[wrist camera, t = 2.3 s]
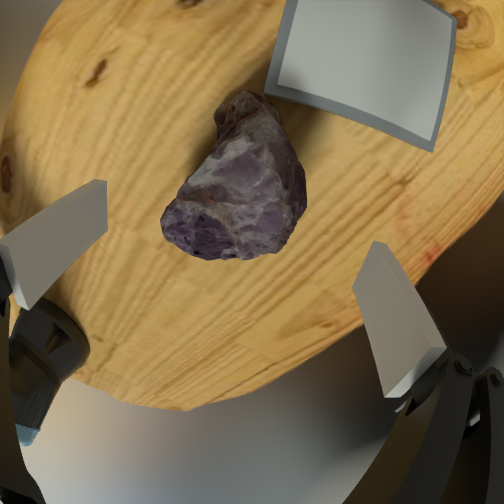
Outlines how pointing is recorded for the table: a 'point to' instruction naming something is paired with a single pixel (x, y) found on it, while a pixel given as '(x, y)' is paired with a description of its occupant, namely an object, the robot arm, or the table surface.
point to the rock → (240, 187)
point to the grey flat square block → (367, 63)
